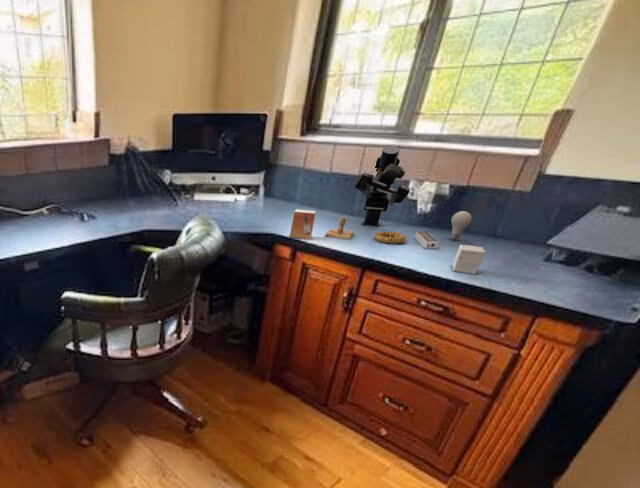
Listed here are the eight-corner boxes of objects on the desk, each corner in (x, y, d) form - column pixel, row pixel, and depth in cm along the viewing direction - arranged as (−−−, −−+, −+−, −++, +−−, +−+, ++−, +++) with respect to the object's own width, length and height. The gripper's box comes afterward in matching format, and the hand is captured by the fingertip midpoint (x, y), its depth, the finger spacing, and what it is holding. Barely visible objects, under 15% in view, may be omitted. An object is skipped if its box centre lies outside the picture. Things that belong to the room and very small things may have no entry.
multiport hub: (426, 238, 168) (428, 232, 166) (437, 248, 156) (439, 242, 154) (414, 237, 169) (415, 231, 168) (423, 248, 157) (425, 241, 156)
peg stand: (330, 231, 179) (333, 214, 176) (353, 234, 175) (357, 216, 171) (325, 236, 173) (329, 219, 169) (349, 239, 168) (353, 221, 165)
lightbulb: (457, 243, 161) (468, 214, 156) (441, 239, 166) (451, 211, 161) (466, 240, 164) (477, 212, 158) (450, 237, 168) (460, 209, 163)
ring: (376, 235, 173) (377, 229, 172) (406, 239, 167) (408, 233, 166) (372, 241, 165) (373, 235, 164) (403, 246, 160) (405, 239, 158)
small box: (289, 237, 173) (293, 211, 168) (291, 234, 177) (295, 208, 172) (309, 239, 169) (315, 213, 164) (311, 236, 174) (316, 210, 169)
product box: (452, 271, 135) (460, 249, 132) (451, 265, 140) (459, 244, 136) (476, 274, 132) (485, 252, 129) (474, 268, 137) (483, 246, 133)
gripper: (372, 152, 164) (367, 174, 156) (420, 168, 161) (418, 191, 153) (356, 176, 173) (351, 198, 166) (401, 191, 171) (398, 214, 163)
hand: (379, 200), depth 162 cm, fingers open, 9 cm apart
